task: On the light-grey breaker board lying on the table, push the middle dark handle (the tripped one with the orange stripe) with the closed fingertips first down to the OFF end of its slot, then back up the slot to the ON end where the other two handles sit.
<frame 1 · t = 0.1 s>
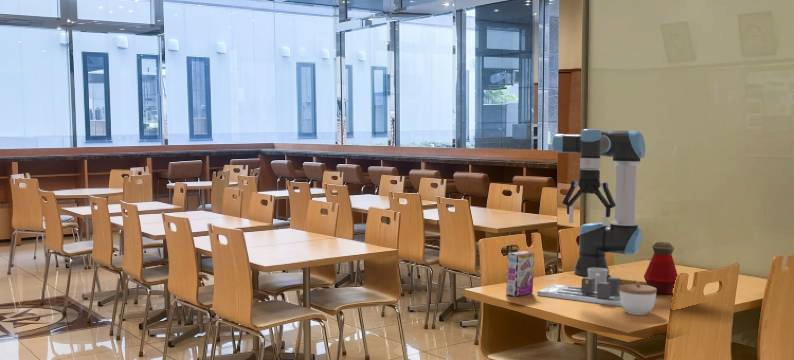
hand: (587, 224, 302), 28 cm above the table, fingers open, 13 cm apart
breaker 3: (603, 289, 292), point 5 cm above the table, slide at 16.0 cm
breaker 2: (588, 284, 301), point 5 cm above the table, slide at 8.0 cm
panel: (587, 297, 301), on the table
lidded bowl: (636, 313, 276), on the table
bottle: (660, 293, 313), on the table
cup: (597, 289, 318), on the table
candy bar box: (519, 295, 303), on the table
breaker 1: (613, 285, 302), point 5 cm above the table, slide at 16.0 cm
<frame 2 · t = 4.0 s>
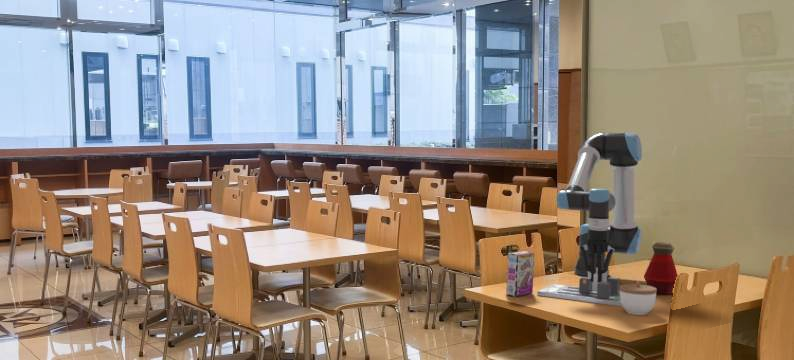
hand: (596, 290, 300), 3 cm above the table, fingers closed
breaker 2: (585, 284, 302), point 5 cm above the table, slide at 7.1 cm, touching gripper
everything else where it was.
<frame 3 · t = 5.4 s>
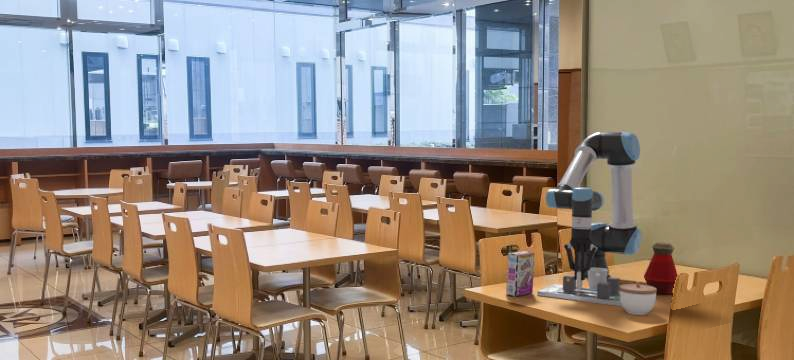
hand: (579, 288, 303), 3 cm above the table, fingers closed
breaker 2: (569, 282, 305), point 5 cm above the table, slide at 0.6 cm, touching gripper
everything else where it was.
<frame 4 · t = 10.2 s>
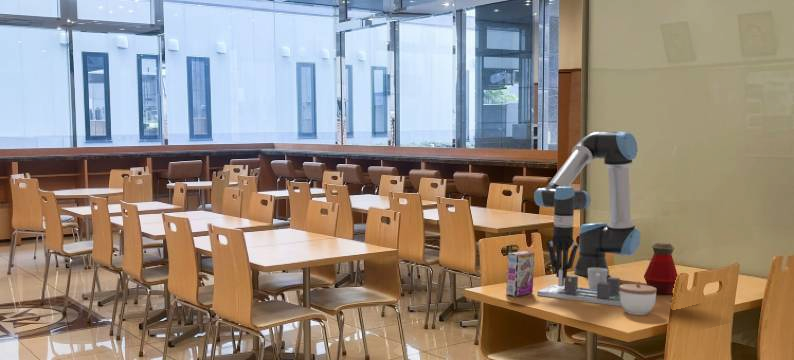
hand: (561, 285, 307), 3 cm above the table, fingers closed
breaker 2: (571, 282, 305), point 5 cm above the table, slide at 1.3 cm, touching gripper
everything else where it was.
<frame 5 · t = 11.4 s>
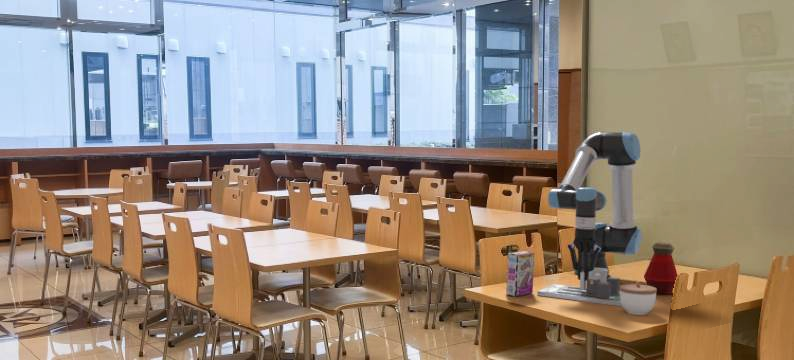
hand: (582, 288, 302), 3 cm above the table, fingers closed
breaker 2: (593, 285, 300), point 5 cm above the table, slide at 10.0 cm, touching gripper
everything else where it was.
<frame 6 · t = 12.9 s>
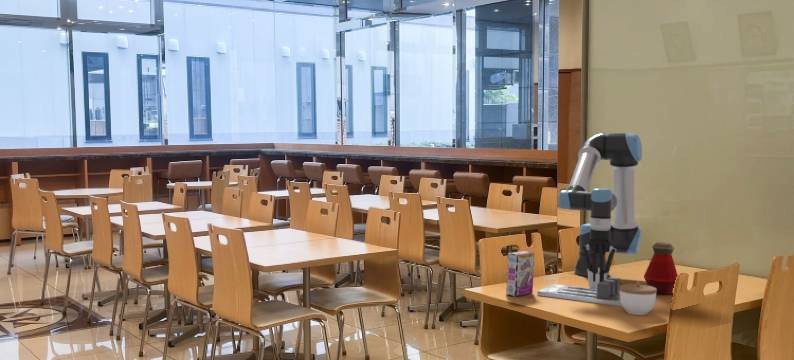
hand: (598, 290, 299), 3 cm above the table, fingers closed
breaker 2: (608, 287, 297), point 5 cm above the table, slide at 15.9 cm, touching gripper
everything else where it was.
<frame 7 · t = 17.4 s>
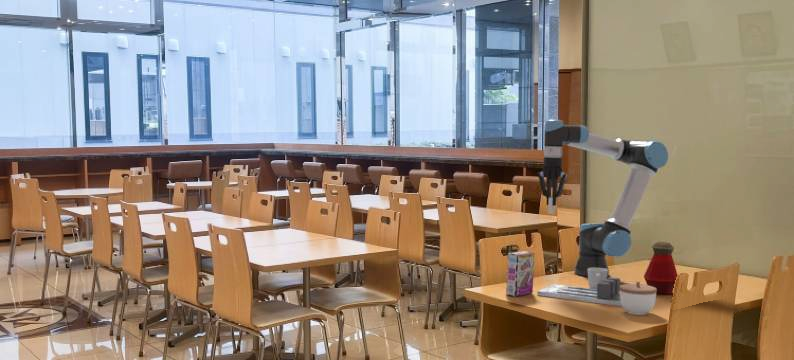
hand: (551, 213, 328), 29 cm above the table, fingers closed
breaker 2: (608, 287, 297), point 5 cm above the table, slide at 15.9 cm
everything else where it was.
at the end: breaker 2 slide at 15.9 cm; breaker 1 slide at 16.0 cm; breaker 3 slide at 16.0 cm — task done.
